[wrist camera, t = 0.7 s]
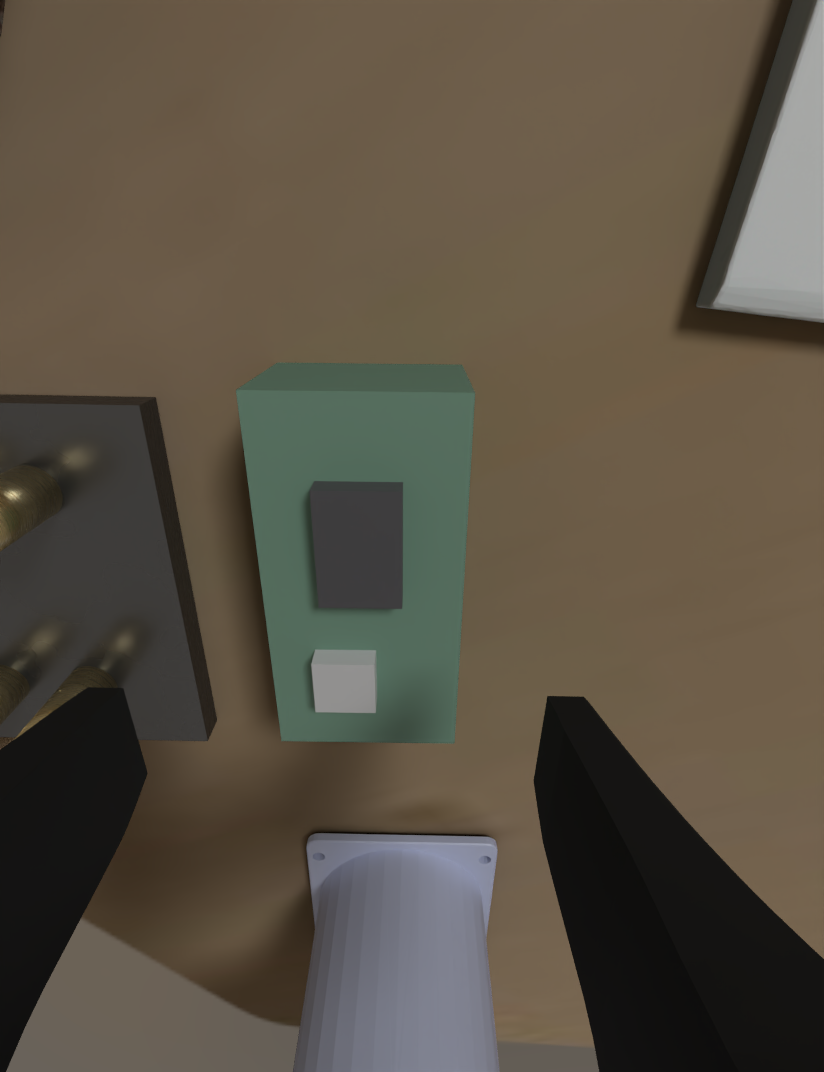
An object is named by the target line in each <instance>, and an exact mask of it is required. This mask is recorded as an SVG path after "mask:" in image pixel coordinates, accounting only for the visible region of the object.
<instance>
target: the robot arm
mask: <svg viewBox="0 0 824 1072" xmlns="http://www.w3.org/2000/svg"><path fill="white" fill-rule="evenodd" d="M146 776H147V770H146V766H145V763H144V759H143V756H142V752H141V749H140V745H139V742H138V738H137V734H136V731H135V727H134V724H133V720H132V717H131V713H130V710H129V706H128V703H127V699H126V696H125V692H124V689H123V688H97V687H87V688H86V689H84V690H83V691H81V692H80V693H78V694H77V695H76V696H74V697H73V698H71V699H70V700H68V701H67V702H65V703H64V704H63V705H61V706H60V707H58V708H57V709H56V710H54V711H53V712H51V713H50V714H49V715H47V716H46V717H45V718H43V719H42V720H40V721H39V722H38V723H36V724H35V725H34V726H32V727H31V728H30V729H28V730H27V731H25V732H24V733H23V734H21V735H20V736H19V737H17V738H16V739H15V740H13V741H12V742H10V743H9V744H8V745H6V746H5V747H4V748H2V749H1V750H0V1072H6V1070H7V1068H8V1066H9V1063H10V1061H11V1058H12V1056H13V1054H14V1051H15V1049H16V1047H17V1045H18V1042H19V1040H20V1038H21V1035H22V1033H23V1030H24V1028H25V1026H26V1024H27V1022H28V1020H29V1018H30V1016H31V1014H32V1012H33V1010H34V1008H35V1006H36V1004H37V1001H38V999H39V997H40V995H41V993H42V991H43V989H44V987H45V985H46V983H47V981H48V980H49V978H50V976H51V974H52V972H53V970H54V968H55V966H56V964H57V962H58V961H59V959H60V957H61V955H62V953H63V951H64V949H65V947H66V945H67V943H68V942H69V940H70V938H71V936H72V934H73V932H74V930H75V928H76V926H77V924H78V923H79V921H80V919H81V917H82V915H83V913H84V911H85V909H86V907H87V905H88V904H89V902H90V900H91V898H92V896H93V894H94V892H95V890H96V888H97V886H98V885H99V883H100V881H101V879H102V877H103V875H104V873H105V871H106V869H107V867H108V865H109V863H110V861H111V859H112V857H113V855H114V854H115V852H116V850H117V848H118V846H119V844H120V842H121V840H122V838H123V836H124V834H125V831H126V829H127V826H128V824H129V821H130V819H131V816H132V814H133V811H134V809H135V806H136V803H137V801H138V798H139V795H140V792H141V790H142V787H143V784H144V781H145V779H146ZM534 786H535V793H536V800H537V807H538V814H539V820H540V826H541V832H542V839H543V844H544V848H545V852H546V856H547V860H548V864H549V868H550V871H551V875H552V879H553V883H554V887H555V891H556V895H557V898H558V902H559V906H560V910H561V913H562V917H563V921H564V925H565V929H566V932H567V936H568V940H569V944H570V947H571V951H572V955H573V959H574V963H575V966H576V970H577V974H578V978H579V981H580V985H581V989H582V993H583V996H584V1000H585V1005H586V1009H587V1013H588V1018H589V1022H590V1027H591V1031H592V1035H593V1040H594V1045H595V1051H596V1056H597V1061H598V1067H599V1072H824V959H823V958H822V957H821V956H820V955H819V954H818V953H817V952H815V951H814V950H813V949H812V948H811V947H810V946H809V945H808V944H807V943H806V942H805V941H804V940H803V939H802V938H801V937H800V936H798V935H797V934H796V933H795V932H794V931H793V930H792V929H791V928H790V927H789V926H788V925H787V924H786V923H785V922H784V921H783V920H782V919H781V918H780V917H779V916H777V915H776V914H775V913H774V912H773V911H772V910H771V909H770V908H769V907H768V906H767V905H766V904H765V903H764V902H763V901H762V900H761V899H760V898H759V897H758V896H757V895H756V894H755V893H754V892H753V891H752V890H751V889H750V888H749V887H748V886H747V885H746V884H745V883H744V882H743V881H742V880H741V879H740V878H739V876H738V875H737V874H736V873H735V872H734V871H733V870H732V869H731V868H730V867H729V866H728V865H727V864H726V863H725V862H724V861H723V860H722V859H721V858H720V856H719V855H718V854H717V853H716V852H715V851H714V850H713V849H712V848H711V847H710V846H709V845H708V844H707V843H706V842H705V841H704V839H703V838H702V837H701V836H700V835H699V834H698V833H697V832H696V831H695V830H694V828H693V827H692V826H691V825H690V824H689V823H688V822H687V821H686V820H685V818H684V817H683V816H682V815H681V814H680V813H679V812H678V810H677V809H676V808H675V807H674V806H673V805H672V803H671V802H670V801H669V800H668V799H667V798H666V797H665V795H664V794H663V793H662V792H661V791H660V790H659V788H658V787H657V786H656V785H655V784H654V783H653V782H652V780H651V779H650V778H649V777H648V776H647V774H646V773H645V772H644V771H643V770H642V768H641V767H640V766H639V765H638V764H637V762H636V761H635V760H634V759H633V757H632V756H631V755H630V754H629V752H628V751H627V750H626V749H625V747H624V746H623V745H622V744H621V743H620V741H619V740H618V739H617V737H616V736H615V735H614V734H613V732H612V731H611V730H610V729H609V727H608V726H607V725H606V724H605V722H604V721H603V720H602V718H601V717H600V716H599V715H598V713H597V712H596V711H595V710H594V708H593V707H592V706H591V704H590V703H589V702H588V701H587V700H586V699H585V698H584V697H566V696H548V697H547V703H546V709H545V715H544V721H543V727H542V733H541V739H540V745H539V751H538V757H537V764H536V770H535V776H534ZM306 849H307V859H308V868H309V877H310V886H311V896H312V905H313V914H314V923H315V934H314V940H313V946H312V953H311V959H310V966H309V972H308V978H307V985H306V991H305V998H304V1004H303V1010H302V1017H301V1023H300V1030H299V1036H298V1043H297V1049H296V1055H295V1062H294V1068H293V1072H499V1063H498V1053H497V1042H496V1032H495V1022H494V1012H493V1002H492V992H491V982H490V972H489V963H488V953H487V943H486V935H487V928H488V920H489V913H490V905H491V897H492V890H493V882H494V875H495V867H496V859H497V852H498V851H497V844H496V841H495V840H494V839H493V838H490V837H486V836H439V835H389V834H339V833H315V834H313V835H311V836H310V837H309V838H308V842H307V847H306Z"/></svg>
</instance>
